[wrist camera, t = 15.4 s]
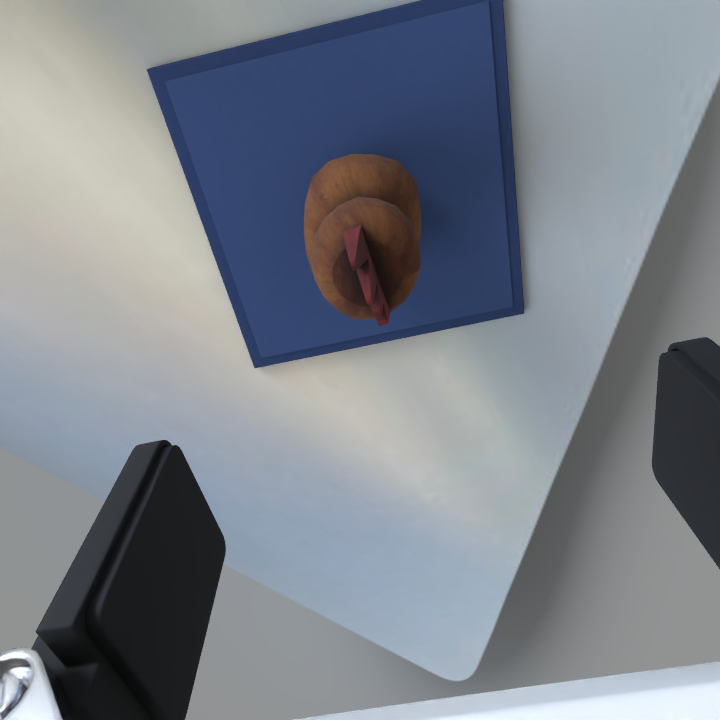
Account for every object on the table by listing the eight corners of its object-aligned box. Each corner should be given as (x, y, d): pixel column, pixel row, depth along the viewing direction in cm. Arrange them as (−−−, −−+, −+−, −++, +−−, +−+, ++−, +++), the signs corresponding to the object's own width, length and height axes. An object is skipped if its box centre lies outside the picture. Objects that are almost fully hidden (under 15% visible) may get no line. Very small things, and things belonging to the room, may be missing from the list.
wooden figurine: (307, 140, 29) (281, 211, 16) (414, 143, 29) (472, 215, 16) (309, 260, 33) (288, 400, 20) (405, 263, 33) (447, 402, 20)
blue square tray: (499, -19, 26) (502, -21, 26) (522, 311, 35) (525, 314, 35) (149, 69, 28) (145, 69, 27) (255, 365, 37) (254, 369, 36)
